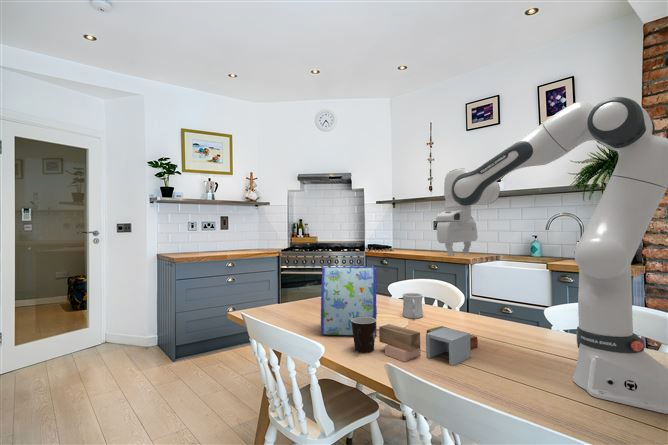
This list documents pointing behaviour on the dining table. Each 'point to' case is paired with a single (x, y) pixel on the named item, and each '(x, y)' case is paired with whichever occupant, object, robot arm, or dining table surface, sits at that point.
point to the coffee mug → (364, 334)
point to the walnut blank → (399, 337)
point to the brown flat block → (472, 338)
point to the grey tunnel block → (448, 344)
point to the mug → (412, 305)
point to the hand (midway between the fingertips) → (458, 255)
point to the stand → (401, 353)
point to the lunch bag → (346, 297)
